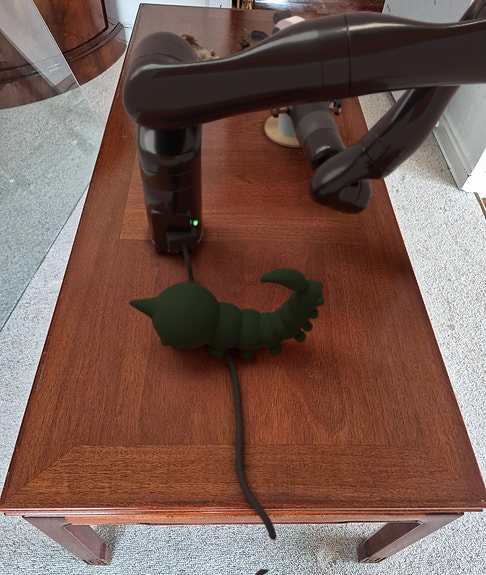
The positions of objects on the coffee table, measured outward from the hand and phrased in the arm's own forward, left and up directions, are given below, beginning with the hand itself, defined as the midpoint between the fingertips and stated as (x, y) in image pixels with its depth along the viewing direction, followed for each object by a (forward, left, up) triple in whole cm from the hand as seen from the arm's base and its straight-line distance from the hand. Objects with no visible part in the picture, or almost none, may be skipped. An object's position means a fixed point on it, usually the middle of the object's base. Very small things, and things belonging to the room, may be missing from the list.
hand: (296, 81), depth 95 cm
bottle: (-2, -1, -10) cm, 10 cm away
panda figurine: (+17, 0, -10) cm, 20 cm away
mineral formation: (+15, +24, -10) cm, 30 cm away
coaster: (-2, 0, -10) cm, 10 cm away
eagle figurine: (+30, +8, -10) cm, 33 cm away
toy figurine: (-56, +13, -10) cm, 58 cm away
